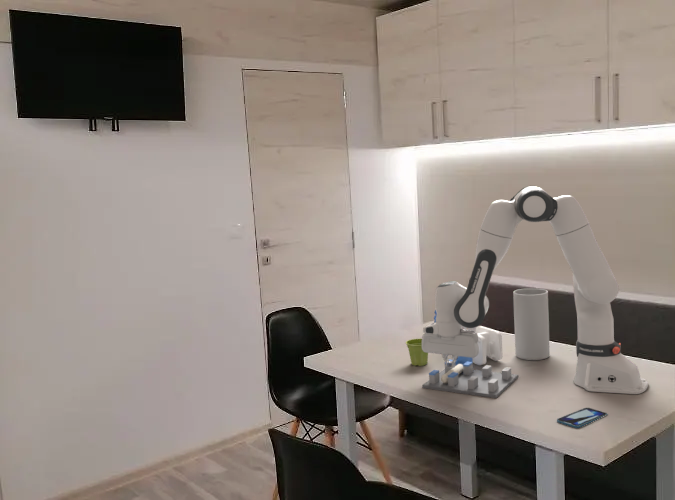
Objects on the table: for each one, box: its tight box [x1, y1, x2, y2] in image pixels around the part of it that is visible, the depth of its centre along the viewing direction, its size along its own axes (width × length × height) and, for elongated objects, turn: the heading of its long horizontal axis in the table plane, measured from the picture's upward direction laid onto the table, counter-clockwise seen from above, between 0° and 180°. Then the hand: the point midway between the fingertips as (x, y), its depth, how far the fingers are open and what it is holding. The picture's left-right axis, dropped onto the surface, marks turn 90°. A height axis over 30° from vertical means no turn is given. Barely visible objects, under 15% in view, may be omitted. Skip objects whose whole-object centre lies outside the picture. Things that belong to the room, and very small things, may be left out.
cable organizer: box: [473, 325, 503, 366], centre depth 252 cm, size 15×11×12 cm
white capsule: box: [441, 364, 463, 384], centre depth 232 cm, size 16×3×3 cm, turn 147°
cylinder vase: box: [512, 287, 550, 361], centre depth 253 cm, size 12×12×25 cm
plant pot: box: [405, 338, 429, 367], centre depth 254 cm, size 9×9×9 cm
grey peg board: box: [421, 356, 519, 399], centre depth 229 cm, size 26×22×6 cm
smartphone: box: [556, 407, 608, 429], centre depth 192 cm, size 7×1×15 cm
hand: (450, 366), depth 232 cm, fingers closed
